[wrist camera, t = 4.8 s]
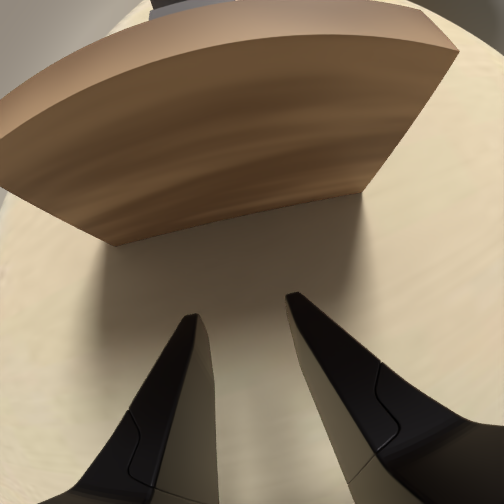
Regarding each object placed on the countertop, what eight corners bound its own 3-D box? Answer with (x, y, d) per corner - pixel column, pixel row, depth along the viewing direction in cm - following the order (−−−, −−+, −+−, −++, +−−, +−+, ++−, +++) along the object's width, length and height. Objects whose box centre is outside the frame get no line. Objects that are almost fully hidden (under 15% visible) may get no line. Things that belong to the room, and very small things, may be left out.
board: (361, 192, 17) (459, 51, 5) (115, 246, 17) (-34, 166, 5) (349, 160, 17) (420, 10, 6) (113, 212, 17) (-16, 112, 6)
